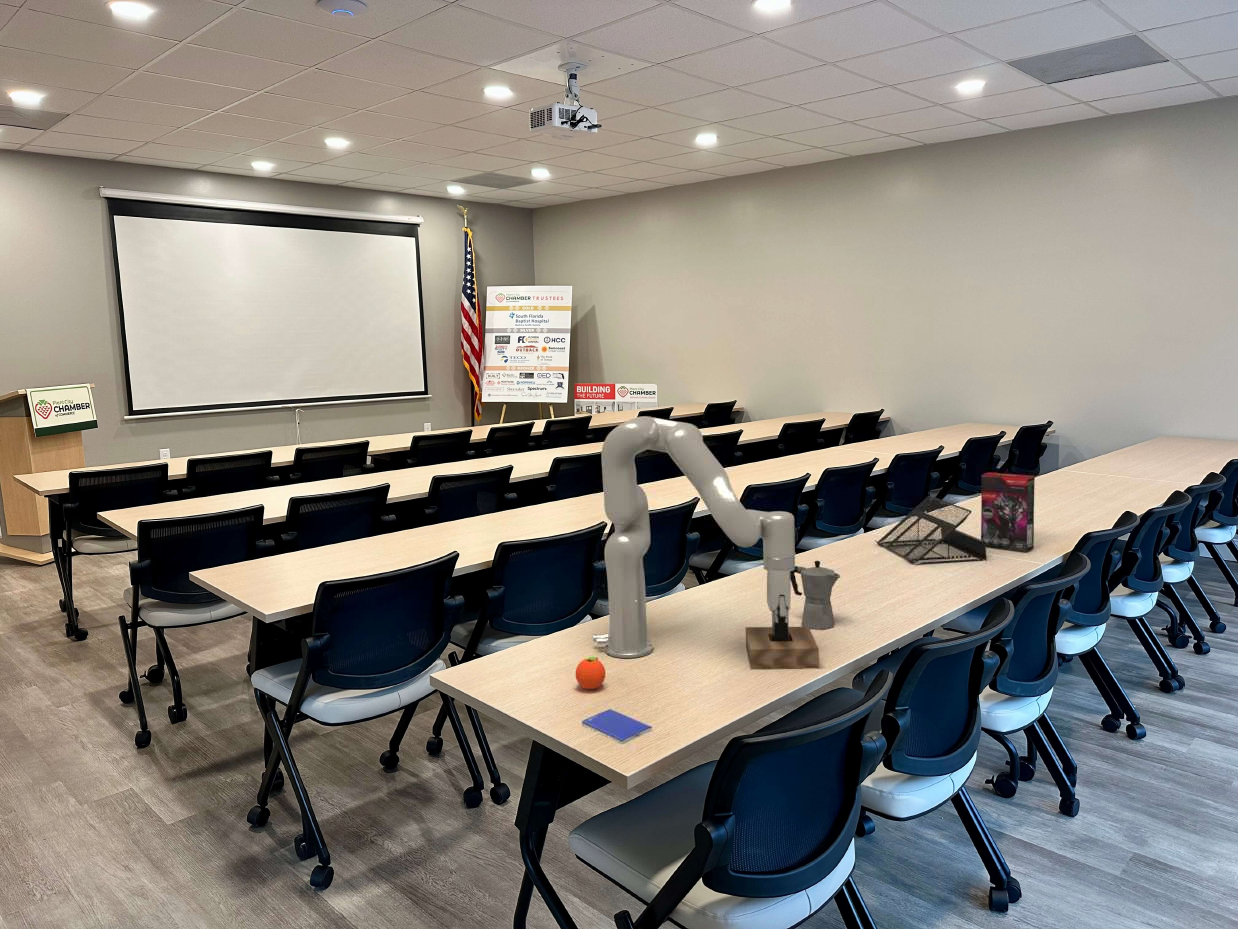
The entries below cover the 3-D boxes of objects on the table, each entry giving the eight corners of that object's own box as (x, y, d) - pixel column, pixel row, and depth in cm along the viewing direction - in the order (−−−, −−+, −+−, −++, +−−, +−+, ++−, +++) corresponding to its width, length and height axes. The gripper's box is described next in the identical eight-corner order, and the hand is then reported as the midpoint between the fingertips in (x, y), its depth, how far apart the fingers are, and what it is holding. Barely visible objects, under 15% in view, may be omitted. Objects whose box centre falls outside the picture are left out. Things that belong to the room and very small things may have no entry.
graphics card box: (979, 546, 309) (980, 474, 306) (987, 543, 314) (988, 471, 310) (1026, 553, 297) (1028, 477, 293) (1034, 549, 301) (1036, 475, 298)
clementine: (585, 679, 197) (584, 650, 196) (612, 682, 194) (611, 653, 193) (571, 692, 190) (569, 662, 189) (598, 695, 187) (597, 665, 186)
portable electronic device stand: (874, 545, 320) (874, 498, 317) (944, 541, 322) (944, 494, 319) (911, 566, 287) (911, 514, 285) (988, 562, 289) (989, 510, 287)
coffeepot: (848, 624, 228) (847, 560, 226) (832, 634, 221) (831, 567, 219) (797, 614, 238) (797, 553, 236) (780, 623, 231) (780, 560, 229)
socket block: (750, 669, 199) (750, 649, 198) (745, 646, 215) (745, 627, 214) (818, 668, 198) (818, 648, 197) (808, 645, 213) (808, 626, 213)
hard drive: (581, 720, 172) (622, 739, 163) (610, 708, 178) (652, 725, 169) (581, 727, 172) (622, 747, 163) (611, 715, 178) (652, 733, 169)
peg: (773, 652, 204) (772, 604, 203) (771, 646, 208) (770, 599, 206) (789, 652, 204) (789, 604, 202) (787, 646, 208) (787, 599, 206)
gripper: (760, 554, 212) (761, 624, 214) (766, 571, 195) (768, 647, 197) (790, 554, 211) (791, 624, 213) (799, 571, 194) (800, 646, 197)
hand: (780, 634), depth 205 cm, fingers closed on peg, 4 cm apart
